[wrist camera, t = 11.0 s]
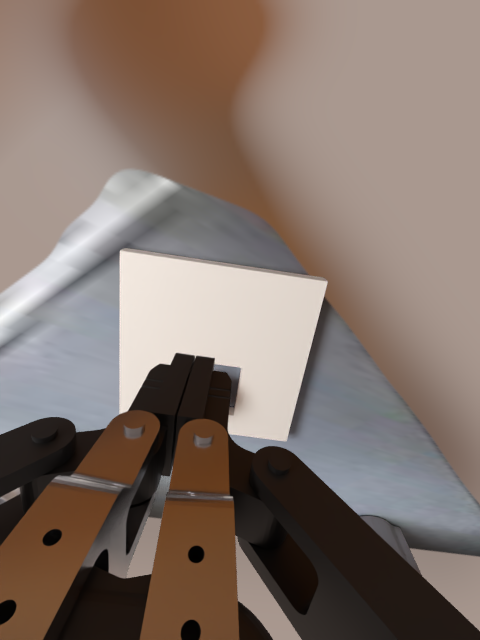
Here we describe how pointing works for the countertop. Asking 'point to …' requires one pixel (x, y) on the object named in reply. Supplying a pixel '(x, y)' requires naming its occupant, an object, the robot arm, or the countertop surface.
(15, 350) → the countertop surface
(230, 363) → the white square board
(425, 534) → the countertop surface
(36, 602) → the robot arm
